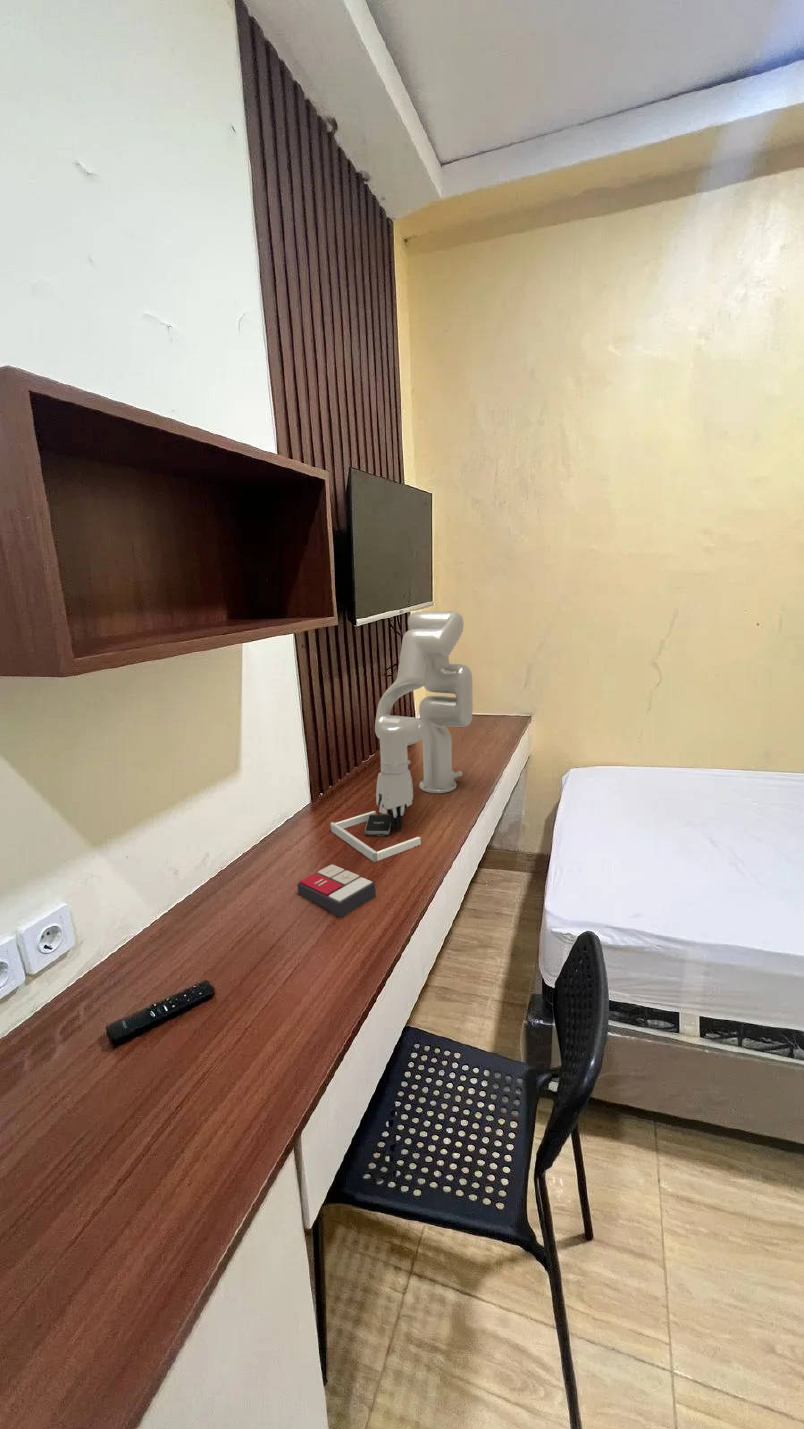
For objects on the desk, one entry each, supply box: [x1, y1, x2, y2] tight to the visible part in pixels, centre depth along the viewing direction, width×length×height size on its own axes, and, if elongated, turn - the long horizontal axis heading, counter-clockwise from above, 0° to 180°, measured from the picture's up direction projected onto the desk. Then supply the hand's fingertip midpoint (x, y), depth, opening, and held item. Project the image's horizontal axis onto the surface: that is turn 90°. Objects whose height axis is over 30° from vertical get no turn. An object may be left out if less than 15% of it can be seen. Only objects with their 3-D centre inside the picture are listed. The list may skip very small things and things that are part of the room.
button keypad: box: [297, 864, 377, 918], centre depth 130 cm, size 11×4×15 cm
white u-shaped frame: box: [329, 810, 422, 863], centre depth 157 cm, size 15×23×2 cm, turn 36°
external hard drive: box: [364, 814, 392, 837], centre depth 163 cm, size 7×11×2 cm, turn 176°
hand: (396, 827), depth 161 cm, fingers closed
